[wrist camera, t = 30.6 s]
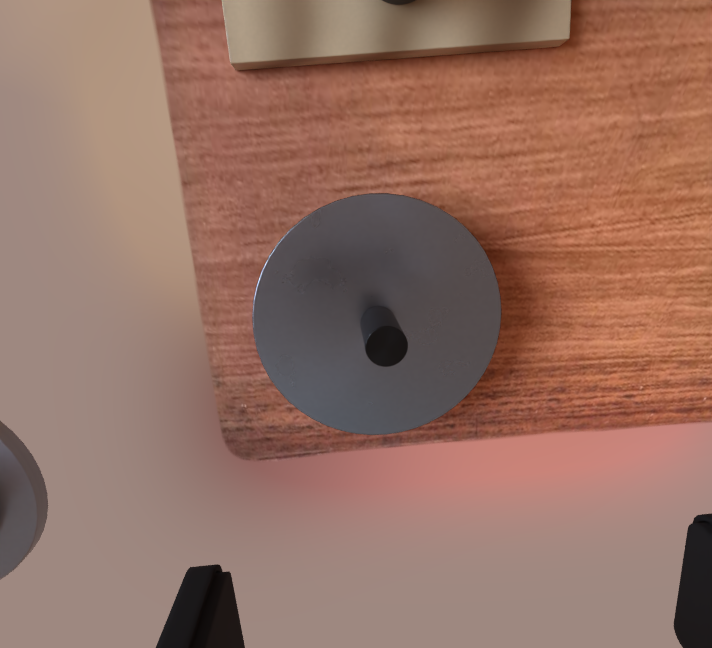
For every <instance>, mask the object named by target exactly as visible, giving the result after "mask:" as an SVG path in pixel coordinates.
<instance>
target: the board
mask: <svg viewBox="0 0 712 648" xmlns="http://www.w3.org/2000/svg"><path fill="white" fill-rule="evenodd" d="M222 7H223V14H224V21H225V28H226V36H227V43H228V50H229V57H230V63H231V65H232V66H233V67H234V69H235V70H249V69H262V68H276V67H290V66H303V65H317V64H330V63H344V62H358V61H371V60H385V59H398V58H412V57H425V56H439V55H453V54H466V53H480V52H493V51H507V50H520V49H534V48H548V47H558V46H560V45H561V44H563V43H564V42H566V41H567V40H568V39H569V38H570V18H571V0H415V1H413V2H411V3H408V4H403V5H395V4H390V3H387V2H384V1H382V0H222Z"/></svg>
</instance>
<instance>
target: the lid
mask: <svg viewBox="0 0 712 648" xmlns="http://www.w3.org/2000/svg"><path fill="white" fill-rule="evenodd" d="M252 319H253V332H254V338H255V342H256V347H257V351H258V353H259V356H260V359H261V362H262V364H263V366H264V368H265V370H266V372H267V374H268V376H269V378H270V379H271V380H272V382H273V383H274V385H275V386H276V388H277V389H278V390H279V391H280V392H281V394H282V395H283V396H284V397H285V398H286V399H287V400H288V401H289V402H290V403H291V404H292V405H294V406H295V407H296V408H297V409H298V410H300V411H301V412H303V413H304V414H306V415H307V416H309V417H310V418H312V419H314V420H316V421H318V422H320V423H322V424H324V425H326V426H329V427H332V428H335V429H338V430H341V431H345V432H350V433H355V434H366V435H383V434H392V433H398V432H403V431H407V430H410V429H414V428H417V427H419V426H422V425H424V424H427V423H429V422H431V421H433V420H435V419H436V418H438V417H440V416H442V415H443V414H445V413H446V412H448V411H449V410H451V409H452V408H453V407H455V406H456V405H457V404H458V403H459V402H460V401H461V400H462V399H464V398H465V397H466V396H467V395H468V393H469V392H470V391H471V390H472V389H473V388H474V386H475V385H476V384H477V383H478V381H479V380H480V378H481V377H482V375H483V374H484V372H485V370H486V368H487V366H488V364H489V362H490V360H491V358H492V356H493V353H494V350H495V347H496V344H497V340H498V335H499V331H500V322H501V299H500V292H499V287H498V282H497V279H496V276H495V273H494V270H493V267H492V265H491V263H490V261H489V259H488V257H487V255H486V253H485V251H484V250H483V248H482V247H481V245H480V244H479V242H478V241H477V239H476V238H475V237H474V236H473V235H472V234H471V233H470V232H469V231H468V229H467V228H466V227H465V226H464V225H462V224H461V223H460V222H459V221H457V220H456V219H455V218H454V217H453V216H451V215H450V214H448V213H446V212H445V211H443V210H441V209H440V208H438V207H436V206H434V205H432V204H429V203H427V202H424V201H422V200H419V199H415V198H412V197H408V196H404V195H396V194H388V193H376V194H363V195H357V196H351V197H348V198H344V199H341V200H337V201H334V202H332V203H330V204H328V205H325V206H323V207H321V208H319V209H317V210H316V211H314V212H312V213H311V214H309V215H308V216H306V217H304V218H303V219H302V220H301V221H300V222H298V223H297V224H296V225H295V226H293V227H292V228H291V229H290V230H289V231H288V232H287V233H286V235H285V236H284V237H283V238H282V239H281V240H280V241H279V242H278V244H277V245H276V247H275V248H274V250H273V251H272V253H271V254H270V255H269V257H268V259H267V261H266V263H265V265H264V267H263V269H262V272H261V275H260V277H259V280H258V283H257V286H256V291H255V296H254V301H253V317H252Z"/></svg>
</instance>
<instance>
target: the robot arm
mask: <svg viewBox="0 0 712 648" xmlns="http://www.w3.org/2000/svg"><path fill="white" fill-rule="evenodd" d="M674 630H675V633H676V636H677V638H678V640H679V642H680V644H681V645H682V647H683V648H712V514H704V515H698V516H696V517H695V518H694V521H693V524H691V525H689V527H688V532H687V538H686V545H685V552H684V558H683V566H682V572H681V579H680V585H679V593H678V599H677V606H676V613H675V619H674ZM156 648H245V646H244V640H243V635H242V630H241V625H240V619H239V614H238V609H237V604H236V599H235V593H234V588H233V583H232V577H231V573H230V572H222V569H221V566H220V565H208V566H199V567H190V568H189V569H188V571H187V572H186V574H185V577H184V579H183V582H182V584H181V587H180V589H179V592H178V594H177V597H176V599H175V601H174V604H173V607H172V609H171V611H170V614H169V617H168V619H167V621H166V624H165V626H164V629H163V631H162V634H161V636H160V639H159V641H158V644H157V646H156Z"/></svg>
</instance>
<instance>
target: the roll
mask: <svg viewBox="0 0 712 648" xmlns="http://www.w3.org/2000/svg"><path fill="white" fill-rule="evenodd" d="M382 1H384V2H387V3H390V4H395V5H403V4H408V3H411V2H413V1H415V0H382Z"/></svg>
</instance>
